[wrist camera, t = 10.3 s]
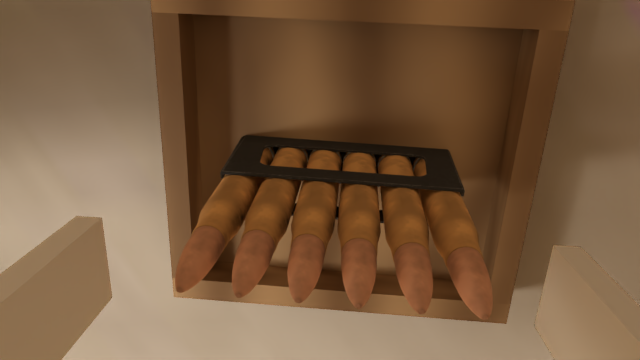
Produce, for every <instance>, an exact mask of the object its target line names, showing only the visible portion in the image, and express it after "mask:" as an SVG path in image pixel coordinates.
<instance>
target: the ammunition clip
mask: <svg viewBox="0 0 640 360" xmlns="http://www.w3.org/2000/svg"><path fill="white" fill-rule="evenodd" d="M225 174H226V175H225ZM220 177H221V178H223V177H224V178H223V179H222V180H221V182H220V183H219V185H218V186H217V188H216V189H215V191H214V192H213V194H212V195H211V197H210V198H209V200H208V201H207V202H206V204H205V205H204V207H203V209H202V210H201V212H200V215H199V219H198V223H197V225H196V227H195V229H194V230H193V232H192V235H191V237H190V239H189V240H188V242H187V244H186V245H185V247H184V249H183V251H182V254H181V256H180V259H179V262H178V265H177V270H176V275H175V288H176V291H177V292H179V293H183V292H185V291H187V290H189V289H191V288H192V287H194V286H195V285H196V284H197V283H199V282H200V281H201V280H202V279H203V278H204V277H205V276H206V275H207V274H208V272H209V271H210V270H211V269H212V267H213V266H214V264H215V263H216V261H217V260H218V258H219V257H220V255H221V253H222V252H223V250H224V249H225V247H226V246H227V244H228V242H229V241H230V240H231V239H232V238H233V237H234V236H235V235H236V234H237V233H238V231H239V230H240V228H241V226H242V225H243V223H244V221H245V228H244V232H243V234H242V237H241V242H240V244H239V246H238V249H237V252H236V255H235V259H234V264H233V270H232V288H233V292H234V295H235V296H236V297H237V298H242V297H244V296H245V295H247V294H248V293H249V292H251V291H252V290H253V288H254V287H255V286H256V285H257V284H258V282H259V281H260V280H261V278H262V277H263V275H264V274H265V272H266V270H267V268H268V266H269V264H270V262H271V259H272V256H273V254H274V252H275V250H276V248H277V245H278V243H279V241H280V240H281V238H282V237H283V236H284V234H285V233H286V231H287V228H288V225H289V221H290V218H291V216H293V219H292V223H291V232H292V240H291V245H290V249H291V250H290V254H289V258H288V269H287V276H288V284H289V290H290V293H291V296H292V298H293V300H294V301H295V302H296V303H302V302H303V301H304V300H306V299H307V297H308V296H309V295H310V294H311V292H312V291H313V289H314V287H315V286H316V284H317V282H318V279H319V277H320V273H321V270H322V267H323V263H324V257H325V254H326V250H327V246H328V243H329V241H330V239H331V237H332V234H333V231H334V226H335V219H337V220H338V226H337V230H338V237H339V241H340V244H341V269H342V277H343V283H344V287H345V290H346V293H347V296H348V298H349V300H350V301H351V303H352V304H353V306H354V307H355V308H357V309H361V308H362V307H363V306H364V305H365V304H366V303H367V301H368V300H369V298H370V295H371V293H372V290H373V286H374V283H375V278H376V271H377V249H378V241H379V238H380V234H381V227H380V223H384V228H385V237H386V241H387V243H388V245H389V247H390V249H391V252H392V257H393V262H394V264H395V270H396V275H397V279H398V282H399V285H400V288H401V290H402V292H403V294H404V296H405V298H406V299H407V301H408V303H409V305H410V306H411V307H412V308H413V309H414V310H415V311H416V312H417V313H418V314H425V312H426V311H427V309H428V307H429V305H430V302H431V298H432V292H433V275H432V265H431V260H430V251H429V228H430V232H431V235H432V239H433V242H434V244H435V246H436V249H437V251H438V252H439V253H440V255H441V256H442V257H443V259H444V262H445V265H446V267H447V269H448V271H449V273H450V276H451V279H452V281H453V283H454V285H455V287H456V289H457V291H458V293H459V295H460V297H461V298H462V300H463V301H464V303H465V304H466V305H467V307H468V308H469V309H470V310H471V311H472V312H473V313H474V314H475V315H476V316H478V317H479V318H480V319H482V320H488V319H489V317H490V315H491V312H492V307H493V295H492V285H491V281H490V277H489V273H488V270H487V267H486V265H485V263H484V258H483V255H482V252H481V249H480V247H479V235H478V232H477V230H476V227H475V225H474V223H473V221H472V219H471V216H470V214H469V212H468V210H467V208H466V206H465V203H464V201H463V199H462V197H463V196H464V193H465V189H464V187H463V184H462V182H461V179H460V177H459V175H458V172H457V169H456V167H455V164H454V161H453V159H452V156H451V154H450V151H449V150H448V149H436V148H422V147H408V146H394V145H380V144H366V143H352V142H337V141H323V140H309V139H295V138H281V137H267V136H253V135H245V136H243V137H241V139H240V140H239V142H238V144H237V145H236V147H235V149H234V150H233V152H232V154H231V155H230V157H229V158H228V160H227V162H226V163H225V165H224V167H223V168H222V170H221V172H220ZM302 181H303V182H302ZM301 182H302V186H301ZM339 184H341V189H340V201H339V207H337V200H338V191H339ZM300 186H301V189H300ZM378 187H380V192H381V201H382V210H379V200H378ZM299 189H300V193H299V197H298V200H297V203H295V202H296V199H297V195H298V192H299ZM459 192H460V193H459ZM245 219H246V220H245ZM428 227H429V228H428Z"/></svg>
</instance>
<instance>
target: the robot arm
mask: <svg viewBox="0 0 640 360" xmlns="http://www.w3.org/2000/svg"><path fill="white" fill-rule="evenodd" d="M111 298H112V292H111V284H110V276H109V269H108V261H107V253H106V246H105V238H104V230H103V223H102V218H98V217H82V216H76V217H75V218H73V219H72V220H71V221H69V222H68V223H67V224H66V225H64V226H63V227H62V228H60V229H59V230H58V231H56V232H55V233H54V234H52V235H51V236H50V237H48V238H47V239H46V240H44V241H43V242H42V243H41V244H39V245H38V246H37V247H35V248H34V249H33V250H31V251H30V252H29V253H27V254H26V255H25V256H23V257H22V258H21V259H20V260H18V261H17V262H16V263H14V264H13V265H12V266H10V267H9V268H8V269H6V270H5V271H4V272H2V273H1V274H0V360H61V359H62V358H63V357H64V356H65V355H66V353H67V352H68V351H69V350H70V348H71V347H72V346H73V345H74V344H75V342H76V341H77V340H78V339H79V337H80V336H81V335H82V334H83V333H84V331H85V330H86V329H87V328H88V326H89V325H90V324H91V323H92V321H93V320H94V319H95V318H96V317H97V315H98V314H99V313H100V312H101V310H102V309H103V308H104V307H105V306H106V304H107V303H108V302H109V301H110V299H111ZM534 326H535V328H536V329H537V331H538V333H539V334H540V336H541V338H542V340H543V341H544V343H545V345H546V346H547V348H548V350H549V351H550V353H551V355H552V356H553V358H554V360H640V306H639V305H638V304H637V303H636V302H635V301H634V300H633V299H632V298H631V297H630V296H629V295H628V294H627V293H626V292H625V291H624V290H623V289H622V288H621V287H620V286H619V285H618V284H617V283H616V282H615V281H614V280H613V279H612V278H611V277H610V276H609V275H608V274H607V273H606V272H605V271H604V270H603V269H602V268H601V267H600V266H599V265H598V264H597V263H596V262H595V261H594V260H593V259H592V258H591V257H590V256H589V255H588V254H587V253H586V252H585V251H584V250H583V249H582V248H581V247H576V246H559V245H553V249H552V253H551V257H550V261H549V265H548V270H547V274H546V278H545V282H544V286H543V291H542V295H541V299H540V303H539V307H538V312H537V316H536V320H535V324H534Z"/></svg>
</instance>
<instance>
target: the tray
mask: <svg viewBox="0 0 640 360" xmlns="http://www.w3.org/2000/svg"><path fill="white" fill-rule="evenodd" d="M574 4H575V0H151V11H152V24H153V37H154V50H155V62H156V75H157V88H158V101H159V113H160V126H161V139H162V152H163V164H164V177H165V190H166V203H167V215H168V228H169V241H170V254H171V267H172V279H173V292H174V297H182V298H194V299H207V300H219V301H231V302H244V303H256V304H269V305H281V306H293V307H306V308H318V309H330V310H343V311H355V312H368V313H380V314H392V315H405V316H417V317H430V318H442V319H454V320H467V321H479V322H492V323H504V324H506V322H507V318H508V313H509V308H510V304H511V299H512V294H513V290H514V285H515V280H516V276H517V271H518V266H519V262H520V257H521V252H522V247H523V243H524V238H525V233H526V229H527V224H528V219H529V215H530V210H531V205H532V201H533V196H534V191H535V187H536V182H537V177H538V173H539V168H540V163H541V159H542V154H543V149H544V145H545V140H546V135H547V131H548V126H549V121H550V117H551V112H552V107H553V103H554V98H555V93H556V89H557V84H558V79H559V75H560V70H561V65H562V61H563V56H564V51H565V47H566V42H567V37H568V32H569V28H570V23H571V18H572V14H573V9H574ZM245 135H253V136H267V137H281V138H295V139H309V140H323V141H337V142H352V143H366V144H380V145H394V146H408V147H422V148H436V149H448V150H449V151H450V154H451V156H452V159H453V161H454V164H455V167H456V169H457V172H458V175H459V177H460V179H461V182H462V184H463V187H464V189H465V193H464V196H463V197H462V199H463V201H464V203H465V206H466V208H467V210H468V212H469V214H470V216H471V219H472V221H473V223H474V225H475V227H476V230H477V232H478V235H479V247H480V249H481V252H482V255H483V258H484V263H485V265H486V267H487V270H488V273H489V277H490V281H491V285H492V295H493V307H492V312H491V315H490V317H489V319H488V320H482V319H480V318H479V317H478V316H476V315H475V314H474V313H473V312H472V311H471V310H470V309H469V308H468V307H467V305H466V304H465V303H464V301H463V300H462V298H461V297H460V295H459V293H458V291H457V289H456V287H455V285H454V283H453V281H452V279H451V276H450V273H449V271H448V269H447V267H446V265H445V262H444V259H443V257H442V256H441V255H440V253H439V252H438V251H437V249H436V246H435V244H434V242H433V239H432V235H431V232H430V228H429V227H428V228H429V251H430V260H431V265H432V275H433V292H432V298H431V302H430V305H429V307H428V309H427V311H426V312H425V314H418V313H417V312H416V311H415V310H414V309H413V308H412V307H411V306H410V305H409V303H408V301H407V299H406V298H405V296H404V294H403V292H402V290H401V288H400V285H399V282H398V279H397V275H396V270H395V264H394V262H393V257H392V252H391V249H390V247H389V245H388V243H387V241H386V237H385V228H384V223H380V227H381V234H380V238H379V241H378V249H377V271H376V278H375V283H374V286H373V290H372V293H371V295H370V298H369V300H368V301H367V303H366V304H365V305H364V306H363V307H362V308H361V309H357V308H355V307H354V306H353V304H352V303H351V301H350V300H349V298H348V296H347V293H346V290H345V287H344V283H343V277H342V269H341V244H340V241H339V237H338V230H337V226H338V220H337V219H335V226H334V231H333V234H332V237H331V239H330V241H329V243H328V246H327V250H326V254H325V257H324V263H323V267H322V270H321V273H320V277H319V279H318V282H317V284H316V286H315V287H314V289H313V291H312V292H311V294H310V295H309V296H308V297H307V299H306V300H304V301H303V302H302V303H296V302H295V301H294V300H293V298H292V296H291V293H290V290H289V284H288V276H287V269H288V258H289V254H290V250H291V249H290V245H291V240H292V232H291V223H292V219H293V216H291V218H290V221H289V225H288V228H287V231H286V233H285V234H284V236H283V237H282V238H281V240H280V241H279V243H278V245H277V248H276V250H275V252H274V254H273V256H272V259H271V262H270V264H269V266H268V268H267V270H266V272H265V274H264V275H263V277H262V278H261V280H260V281H259V282H258V284H257V285H256V286H255V287H254V288H253V290H252V291H251V292H249V293H248V294H247V295H245V296H244V297H242V298H237V297H236V296H235V295H234V292H233V288H232V270H233V264H234V259H235V255H236V252H237V249H238V246H239V244H240V242H241V237H242V234H243V232H244V228H245V221H244V223H243V225H242V226H241V228H240V230H239V231H238V233H237V234H236V235H235V236H234V237H233V238H232V239H231V240H230V241H229V242H228V244H227V246H226V247H225V249H224V250H223V252H222V253H221V255H220V257H219V258H218V260H217V261H216V263H215V264H214V266H213V267H212V269H211V270H210V271H209V272H208V274H207V275H206V276H205V277H204V278H203V279H202V280H201V281H200V282H199V283H197V284H196V285H195V286H194V287H192V288H191V289H189V290H187V291H185V292H183V293H179V292H177V291H176V288H175V275H176V270H177V265H178V262H179V259H180V256H181V254H182V251H183V249H184V247H185V245H186V244H187V242H188V240H189V239H190V237H191V235H192V232H193V230H194V229H195V227H196V225H197V223H198V219H199V215H200V212H201V210H202V209H203V207H204V205H205V204H206V202H207V201H208V200H209V198H210V197H211V195H212V194H213V192H214V191H215V189H216V188H217V186H218V185H219V183H220V182H221V180H222V179H223V178H224V177H223V178H221V177H220V172H221V170H222V168H223V167H224V165H225V163H226V162H227V160H228V158H229V157H230V155H231V154H232V152H233V150H234V149H235V147H236V145H237V144H238V142H239V140H240V139H241V137H243V136H245ZM225 175H226V174H225ZM302 182H303V181H302ZM302 182H301V186H302ZM301 186H300V189H301ZM300 189H299V192H298V195H297V199H296V202H295V203H297V200H298V197H299V193H300ZM340 189H341V184H339V191H338V200H337V207H339V201H340ZM459 193H460V192H459ZM378 200H379V210H382V201H381V192H380V187H378ZM245 220H246V219H245Z"/></svg>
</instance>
